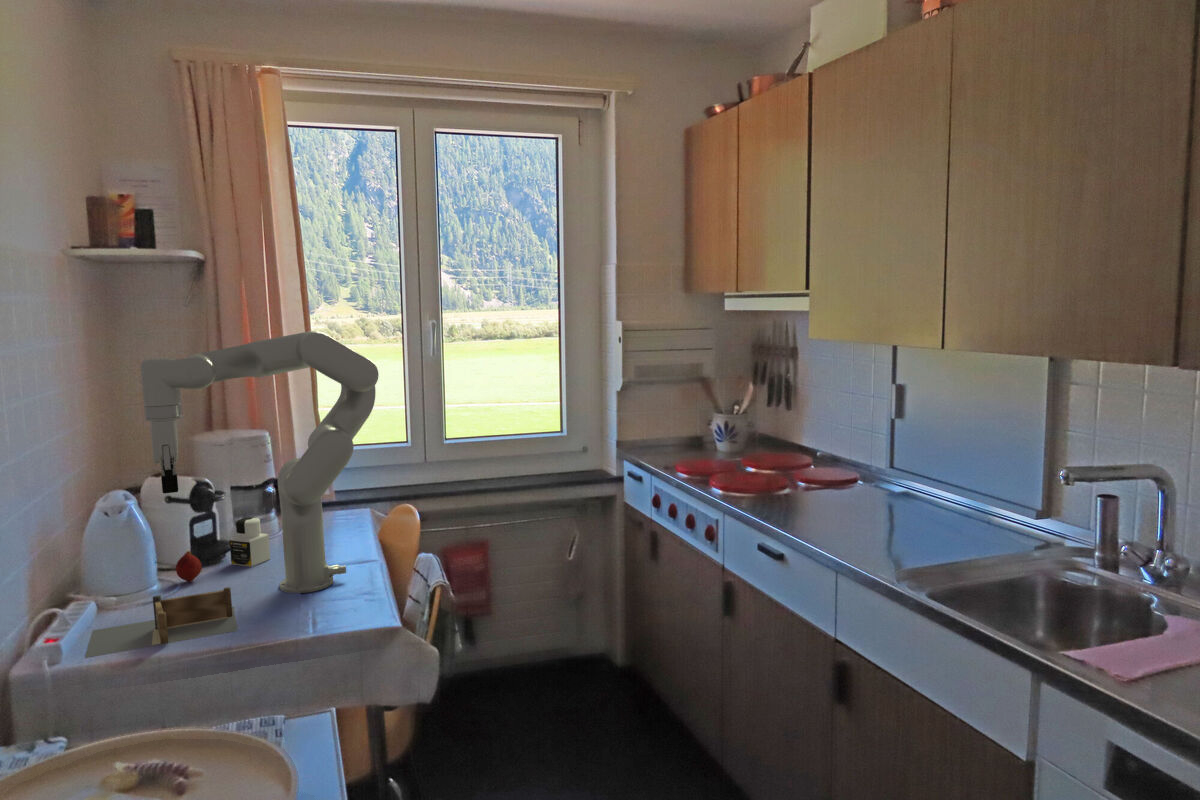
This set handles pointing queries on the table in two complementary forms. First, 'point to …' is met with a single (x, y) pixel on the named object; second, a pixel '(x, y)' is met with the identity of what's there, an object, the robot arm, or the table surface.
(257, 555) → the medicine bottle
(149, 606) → the table surface
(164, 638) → the fence gate
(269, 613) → the table surface
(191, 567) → the onion
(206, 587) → the table surface
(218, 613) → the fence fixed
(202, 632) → the card
